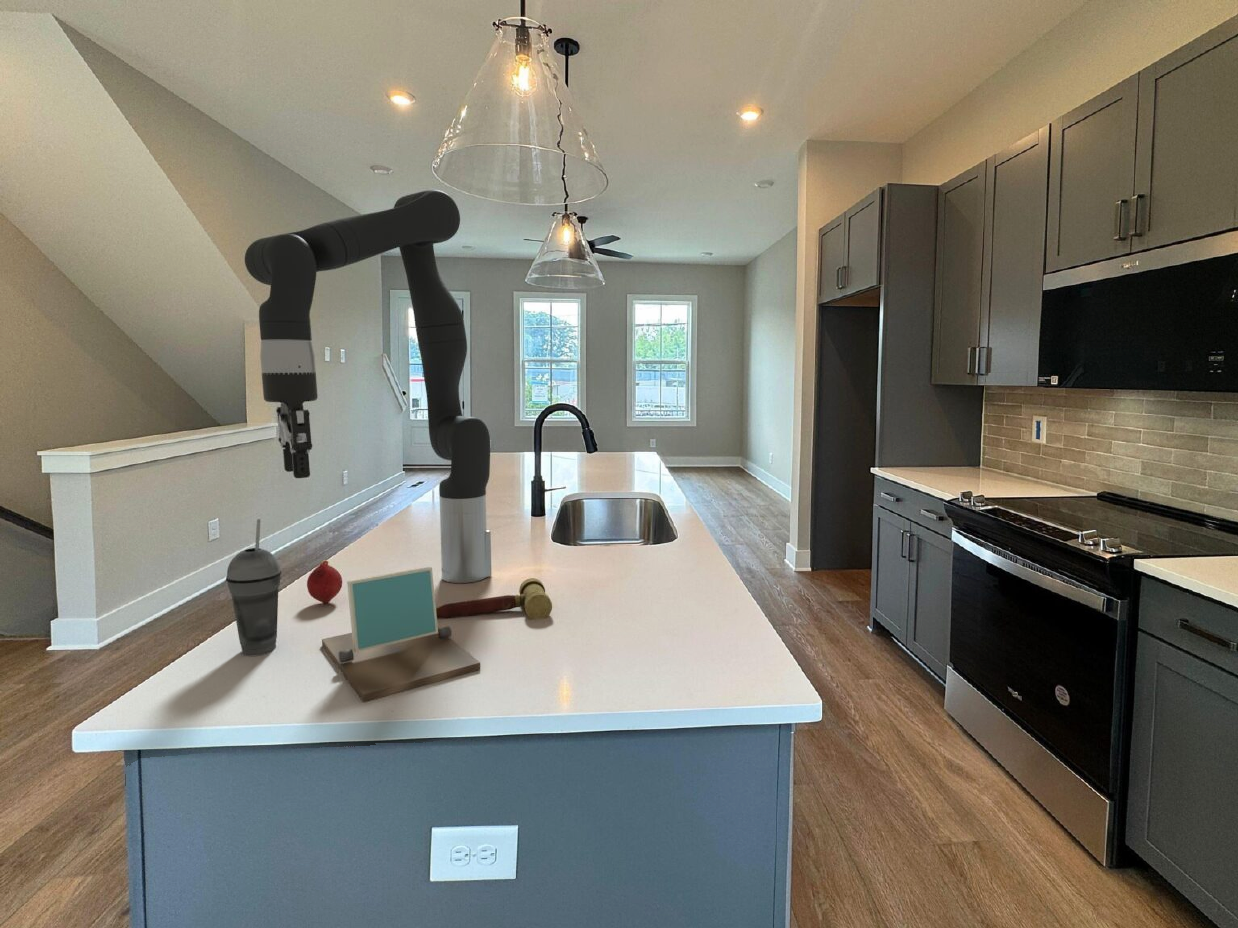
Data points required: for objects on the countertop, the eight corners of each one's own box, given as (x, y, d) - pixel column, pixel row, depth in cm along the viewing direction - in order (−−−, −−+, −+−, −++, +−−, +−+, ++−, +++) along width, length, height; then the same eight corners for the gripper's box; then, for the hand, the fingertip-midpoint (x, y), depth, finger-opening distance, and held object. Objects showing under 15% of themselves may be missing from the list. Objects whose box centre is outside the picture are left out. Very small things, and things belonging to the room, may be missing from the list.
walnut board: (424, 622, 110) (423, 606, 109) (480, 669, 92) (480, 650, 92) (322, 645, 100) (321, 627, 100) (363, 701, 83) (362, 680, 82)
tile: (429, 566, 100) (432, 567, 99) (435, 631, 100) (438, 633, 99) (347, 580, 93) (349, 581, 92) (353, 650, 93) (356, 652, 92)
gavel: (424, 611, 107) (426, 592, 116) (427, 638, 107) (428, 616, 117) (551, 593, 112) (542, 576, 121) (553, 618, 113) (544, 599, 122)
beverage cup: (245, 640, 102) (236, 514, 99) (294, 639, 102) (286, 514, 100) (221, 660, 95) (211, 525, 92) (273, 658, 95) (264, 524, 93)
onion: (329, 609, 116) (327, 565, 115) (301, 607, 117) (298, 563, 116) (349, 599, 121) (347, 557, 120) (321, 596, 122) (319, 555, 121)
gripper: (324, 370, 97) (332, 477, 99) (306, 370, 109) (313, 467, 111) (268, 370, 93) (277, 482, 95) (255, 371, 104) (264, 471, 107)
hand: (297, 474), depth 103 cm, fingers open, 8 cm apart
